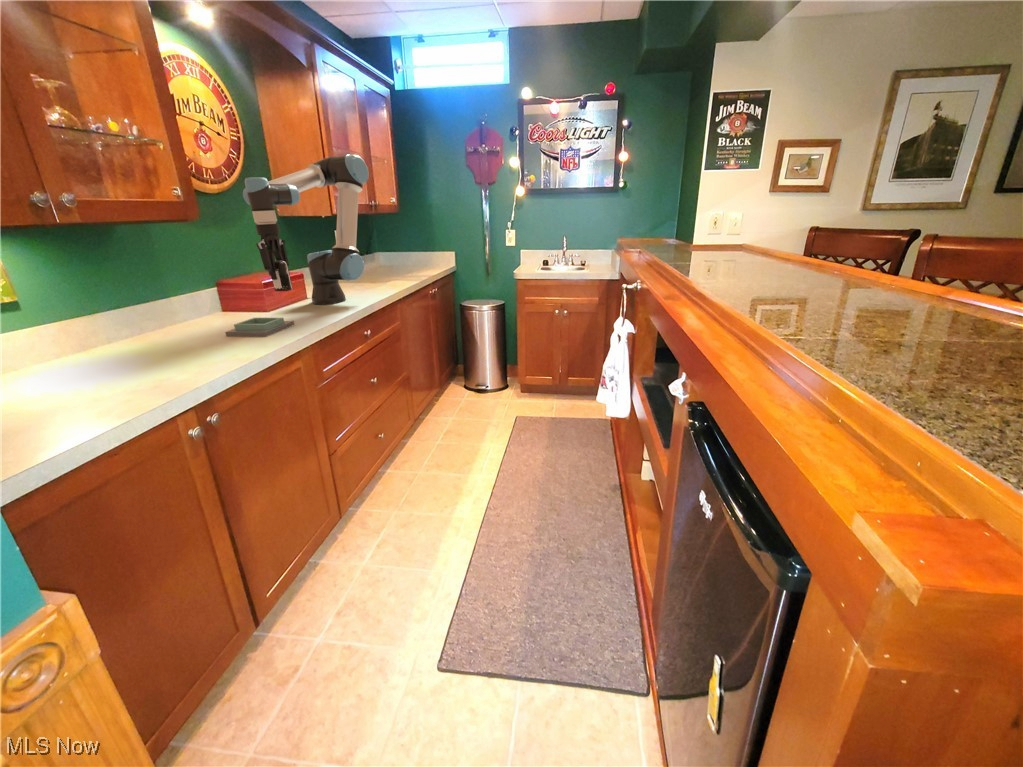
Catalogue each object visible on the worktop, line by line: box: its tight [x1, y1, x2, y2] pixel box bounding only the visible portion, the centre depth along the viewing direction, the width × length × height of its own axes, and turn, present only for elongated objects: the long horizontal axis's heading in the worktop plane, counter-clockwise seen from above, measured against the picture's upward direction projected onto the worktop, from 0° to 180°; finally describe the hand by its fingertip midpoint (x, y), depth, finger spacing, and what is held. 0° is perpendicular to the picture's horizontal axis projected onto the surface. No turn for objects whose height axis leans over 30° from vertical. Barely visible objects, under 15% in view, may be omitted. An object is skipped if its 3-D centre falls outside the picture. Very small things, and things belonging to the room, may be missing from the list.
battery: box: [267, 260, 294, 292], centre depth 169 cm, size 7×4×11 cm, turn 80°
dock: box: [224, 317, 295, 337], centre depth 161 cm, size 16×16×4 cm
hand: (282, 286), depth 171 cm, fingers closed on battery, 4 cm apart
